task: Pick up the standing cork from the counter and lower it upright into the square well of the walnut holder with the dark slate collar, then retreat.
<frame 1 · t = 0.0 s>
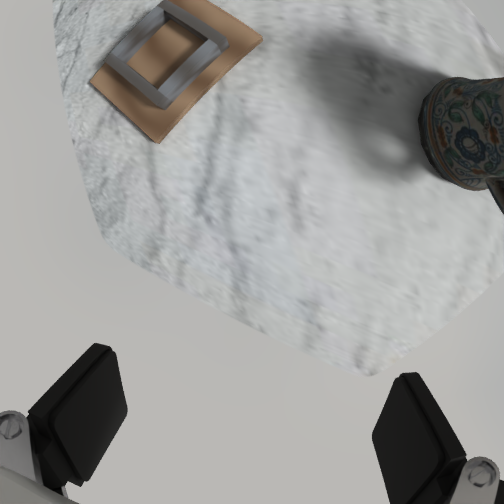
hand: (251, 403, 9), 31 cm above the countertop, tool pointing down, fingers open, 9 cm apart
beer stein: (463, 144, 34), on the countertop
shaker holder: (171, 58, 34), on the countertop
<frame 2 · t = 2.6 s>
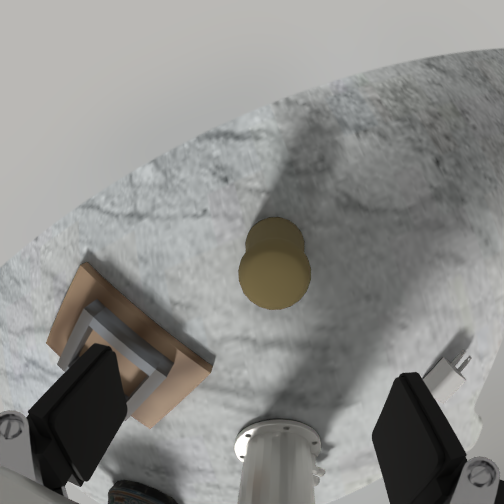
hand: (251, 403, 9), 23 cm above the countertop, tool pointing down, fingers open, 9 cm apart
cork: (274, 246, 31), on the countertop
beer stein: (142, 498, 46), on the countertop
shaker holder: (119, 353, 35), on the countertop
usb wall charger: (444, 365, 33), on the countertop
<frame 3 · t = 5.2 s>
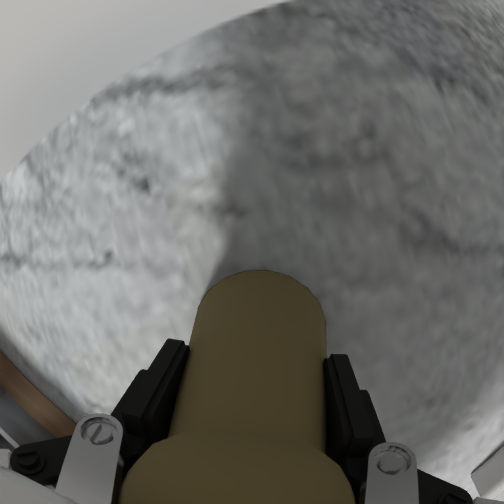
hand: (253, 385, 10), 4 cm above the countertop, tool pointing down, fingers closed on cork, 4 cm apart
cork: (259, 330, 14), on the countertop, touching gripper
shaker holder: (46, 442, 18), on the countertop
usb wall charger: (500, 451, 16), on the countertop
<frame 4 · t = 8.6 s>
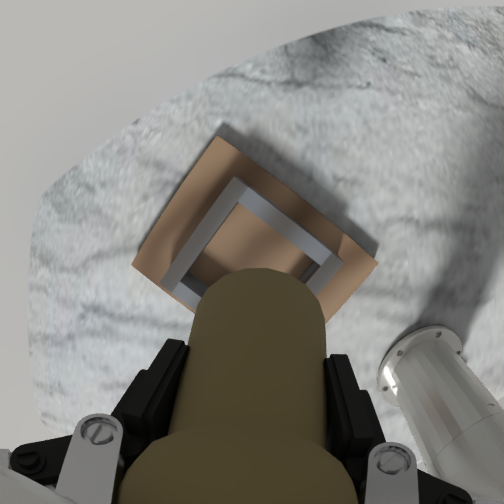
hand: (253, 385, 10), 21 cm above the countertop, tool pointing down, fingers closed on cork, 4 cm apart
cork: (259, 328, 14), point 17 cm above the countertop, touching gripper
shaker holder: (252, 260, 31), on the countertop
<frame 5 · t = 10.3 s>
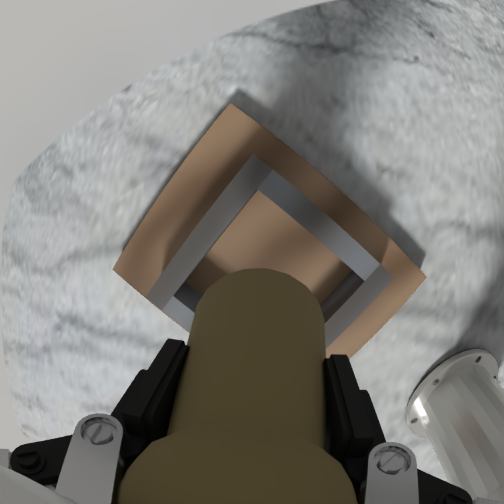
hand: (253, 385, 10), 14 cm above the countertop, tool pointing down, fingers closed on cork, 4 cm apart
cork: (258, 329, 14), point 10 cm above the countertop, touching gripper
shaker holder: (269, 269, 23), on the countertop
when the fingers open (7 cm above the countertop, at t = 12.0 s): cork drops 1 cm, resting on shaker holder.
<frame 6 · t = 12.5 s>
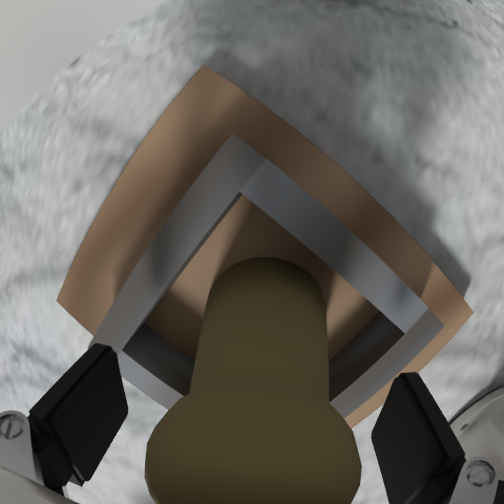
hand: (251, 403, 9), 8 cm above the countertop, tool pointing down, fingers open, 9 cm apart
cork: (265, 313, 15), point 1 cm above the countertop, touching shaker holder
shaker holder: (262, 306, 16), on the countertop
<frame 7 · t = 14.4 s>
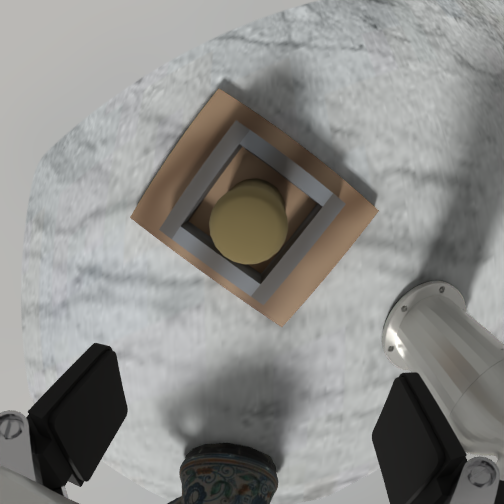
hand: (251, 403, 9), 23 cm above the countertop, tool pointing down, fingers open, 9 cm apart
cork: (254, 209, 29), point 1 cm above the countertop, touching shaker holder
beer stein: (223, 469, 42), on the countertop
shaker holder: (252, 209, 30), on the countertop
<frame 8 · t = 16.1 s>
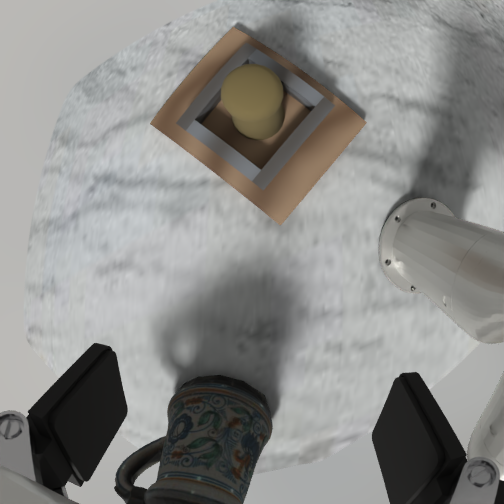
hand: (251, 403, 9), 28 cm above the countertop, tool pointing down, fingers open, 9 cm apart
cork: (258, 115, 32), point 1 cm above the countertop, touching shaker holder
beer stein: (214, 413, 44), on the countertop
shaker holder: (256, 119, 33), on the countertop
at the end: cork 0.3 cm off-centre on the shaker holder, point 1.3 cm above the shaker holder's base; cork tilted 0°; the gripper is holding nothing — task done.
